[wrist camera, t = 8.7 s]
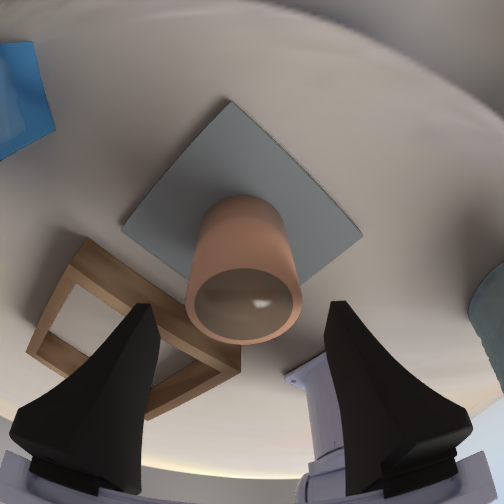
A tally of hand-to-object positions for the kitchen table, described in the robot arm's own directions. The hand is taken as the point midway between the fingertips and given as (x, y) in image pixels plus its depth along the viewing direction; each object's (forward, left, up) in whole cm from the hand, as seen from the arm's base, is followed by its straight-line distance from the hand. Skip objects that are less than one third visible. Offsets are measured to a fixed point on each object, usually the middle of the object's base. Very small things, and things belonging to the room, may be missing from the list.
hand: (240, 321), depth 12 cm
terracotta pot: (0, 0, -7) cm, 7 cm away
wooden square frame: (0, +14, -8) cm, 16 cm away
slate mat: (0, 0, -8) cm, 8 cm away
